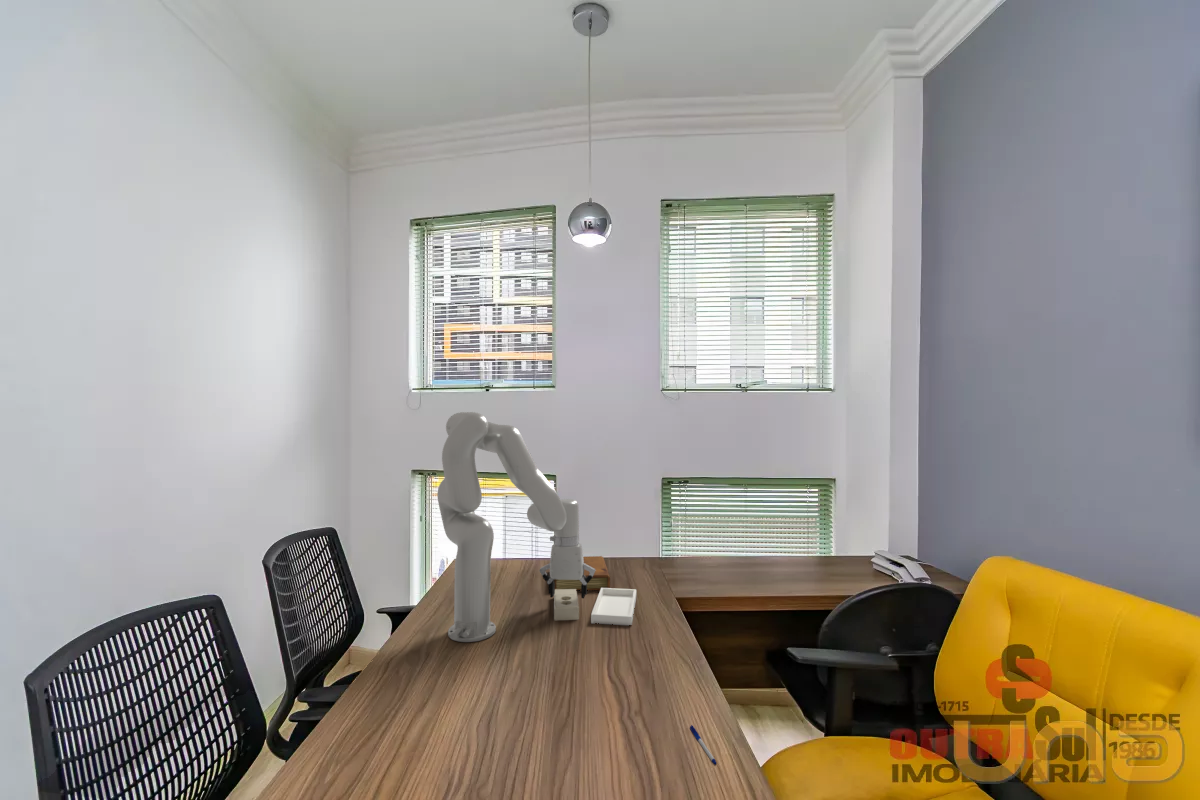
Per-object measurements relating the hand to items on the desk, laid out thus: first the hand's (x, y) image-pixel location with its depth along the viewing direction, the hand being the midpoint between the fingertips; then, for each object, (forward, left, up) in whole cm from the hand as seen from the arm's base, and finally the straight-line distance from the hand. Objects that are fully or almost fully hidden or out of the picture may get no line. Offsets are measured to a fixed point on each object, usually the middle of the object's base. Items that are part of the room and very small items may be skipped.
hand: (567, 596), depth 156 cm
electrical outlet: (0, +1, -4) cm, 4 cm away
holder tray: (+1, -14, -4) cm, 15 cm away
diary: (+27, +1, -4) cm, 28 cm away
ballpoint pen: (-60, -36, -4) cm, 70 cm away
